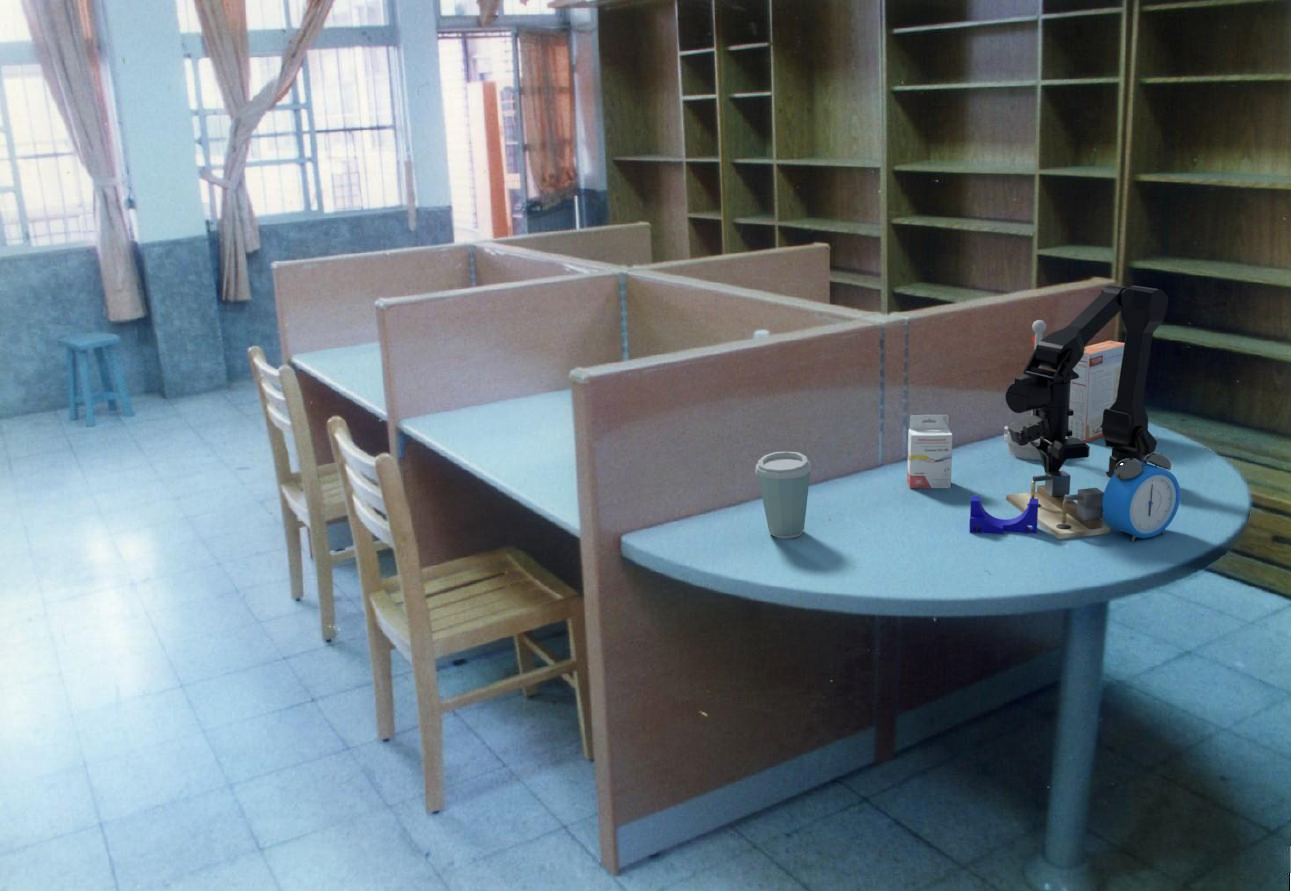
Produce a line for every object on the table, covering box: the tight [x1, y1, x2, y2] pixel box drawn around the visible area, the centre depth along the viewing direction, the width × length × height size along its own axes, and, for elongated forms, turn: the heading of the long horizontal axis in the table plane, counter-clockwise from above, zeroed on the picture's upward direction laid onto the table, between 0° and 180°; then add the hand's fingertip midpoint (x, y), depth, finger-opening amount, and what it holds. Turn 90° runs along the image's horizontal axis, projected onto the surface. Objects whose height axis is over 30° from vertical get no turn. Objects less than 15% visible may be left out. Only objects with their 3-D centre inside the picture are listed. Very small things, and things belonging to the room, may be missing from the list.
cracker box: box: [1066, 340, 1125, 443], centre depth 272 cm, size 14×6×21 cm, turn 123°
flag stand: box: [1003, 319, 1047, 461], centre depth 261 cm, size 13×13×30 cm
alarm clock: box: [1102, 452, 1181, 542], centre depth 215 cm, size 13×6×15 cm, turn 113°
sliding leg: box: [1030, 470, 1071, 499], centre depth 231 cm, size 7×3×5 cm, turn 98°
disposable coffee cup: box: [754, 450, 813, 540], centre depth 225 cm, size 11×11×15 cm
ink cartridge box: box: [906, 414, 953, 489], centre depth 246 cm, size 9×5×15 cm, turn 84°
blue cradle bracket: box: [968, 495, 1038, 535], centre depth 222 cm, size 12×4×6 cm, turn 72°
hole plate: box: [1005, 484, 1111, 540], centre depth 227 cm, size 10×22×8 cm, turn 8°
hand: (1050, 479), depth 234 cm, fingers closed
